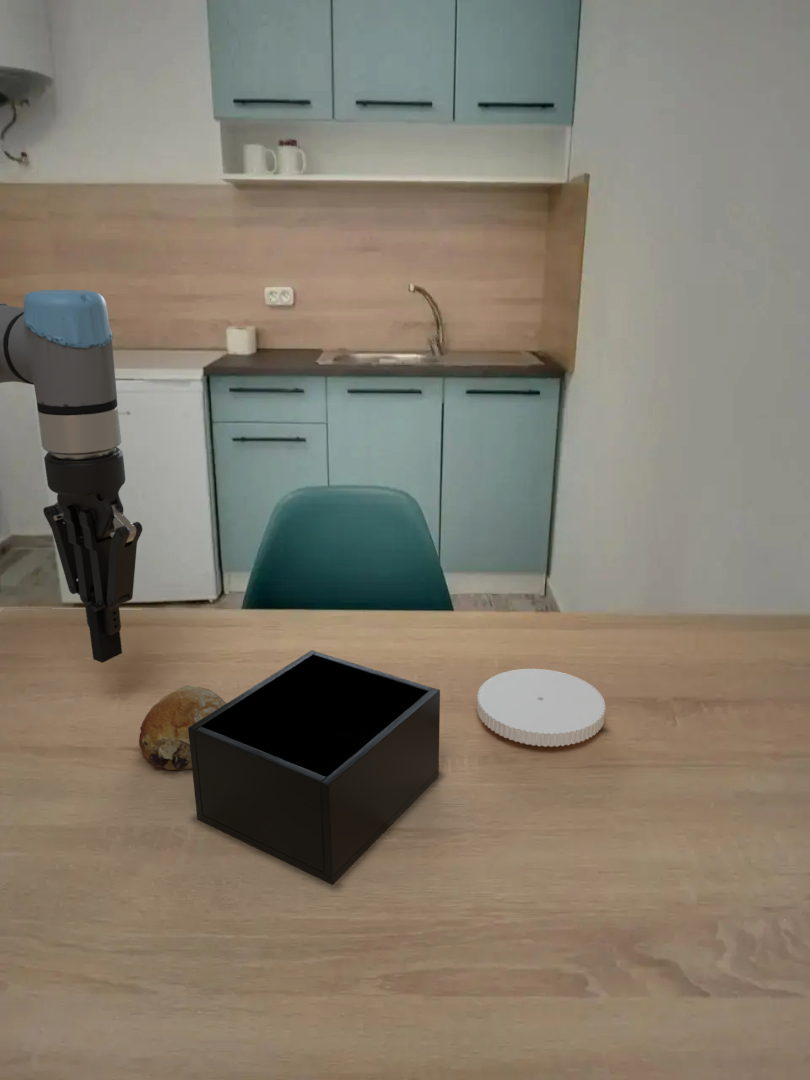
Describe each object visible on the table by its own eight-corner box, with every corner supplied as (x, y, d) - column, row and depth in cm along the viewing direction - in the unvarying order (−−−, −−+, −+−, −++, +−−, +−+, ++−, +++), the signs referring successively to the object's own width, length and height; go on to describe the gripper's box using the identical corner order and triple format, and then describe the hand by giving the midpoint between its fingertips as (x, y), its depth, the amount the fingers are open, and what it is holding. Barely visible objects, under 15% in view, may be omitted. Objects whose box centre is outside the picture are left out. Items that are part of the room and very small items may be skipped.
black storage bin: (196, 819, 76) (187, 727, 73) (315, 730, 90) (311, 649, 87) (332, 885, 69) (328, 785, 65) (438, 776, 83) (440, 689, 79)
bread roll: (246, 779, 88) (268, 707, 88) (167, 784, 80) (191, 705, 80) (191, 744, 94) (211, 676, 94) (112, 746, 86) (134, 672, 86)
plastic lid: (463, 742, 88) (464, 721, 87) (490, 679, 101) (491, 661, 100) (597, 765, 84) (599, 743, 84) (608, 697, 97) (610, 678, 96)
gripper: (156, 451, 84) (174, 658, 92) (73, 433, 90) (96, 628, 98) (95, 467, 78) (120, 687, 86) (10, 447, 84) (41, 653, 92)
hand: (107, 656), depth 92 cm, fingers closed
